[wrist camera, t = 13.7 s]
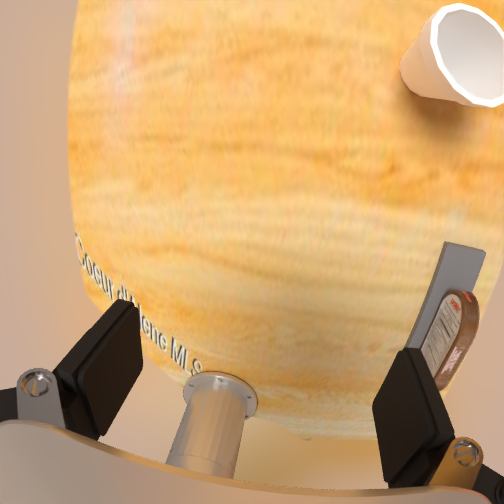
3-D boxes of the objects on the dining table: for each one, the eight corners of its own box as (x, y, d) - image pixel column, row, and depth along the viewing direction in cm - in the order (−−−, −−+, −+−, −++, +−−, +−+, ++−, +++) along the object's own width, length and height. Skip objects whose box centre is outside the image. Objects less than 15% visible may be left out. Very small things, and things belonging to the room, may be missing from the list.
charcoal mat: (423, 381, 45) (425, 385, 44) (388, 380, 45) (389, 384, 44) (482, 250, 35) (486, 252, 35) (444, 241, 36) (447, 243, 35)
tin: (424, 365, 42) (439, 403, 34) (407, 364, 42) (421, 403, 35) (463, 280, 36) (491, 312, 29) (445, 277, 37) (472, 310, 29)
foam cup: (463, 106, 29) (527, 105, 17) (400, 115, 31) (450, 111, 19) (442, 34, 26) (496, 6, 14) (376, 39, 28) (414, 2, 16)
